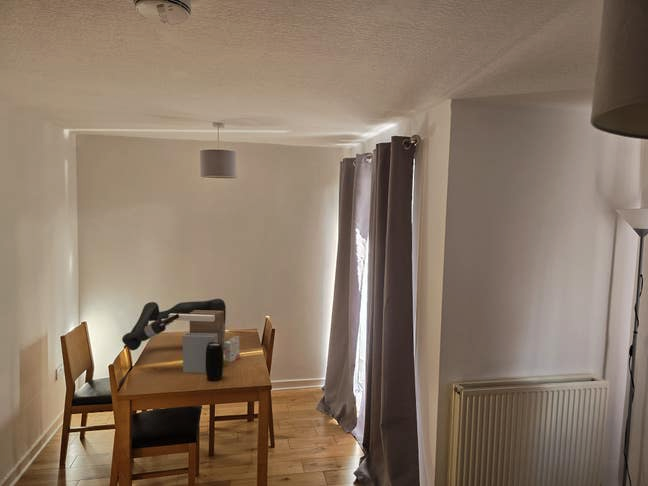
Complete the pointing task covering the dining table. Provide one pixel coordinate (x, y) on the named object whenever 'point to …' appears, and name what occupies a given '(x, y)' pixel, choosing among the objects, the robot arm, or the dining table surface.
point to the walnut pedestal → (209, 325)
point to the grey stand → (196, 351)
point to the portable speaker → (214, 361)
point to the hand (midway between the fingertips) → (179, 314)
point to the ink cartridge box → (232, 349)
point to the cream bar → (194, 317)
